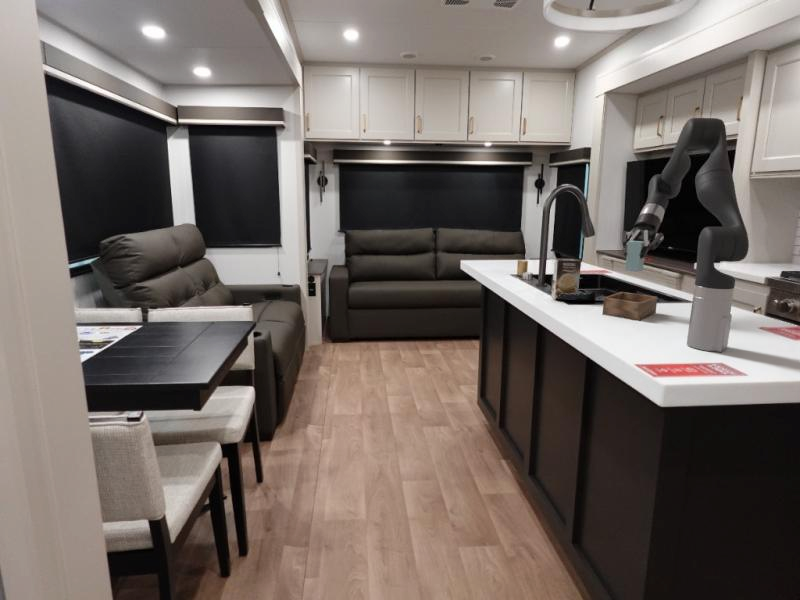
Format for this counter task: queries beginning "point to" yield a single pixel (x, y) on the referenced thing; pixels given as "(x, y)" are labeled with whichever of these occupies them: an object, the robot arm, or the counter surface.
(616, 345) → the counter surface
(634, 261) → the block
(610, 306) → the crate
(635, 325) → the counter surface
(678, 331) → the counter surface
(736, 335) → the counter surface
